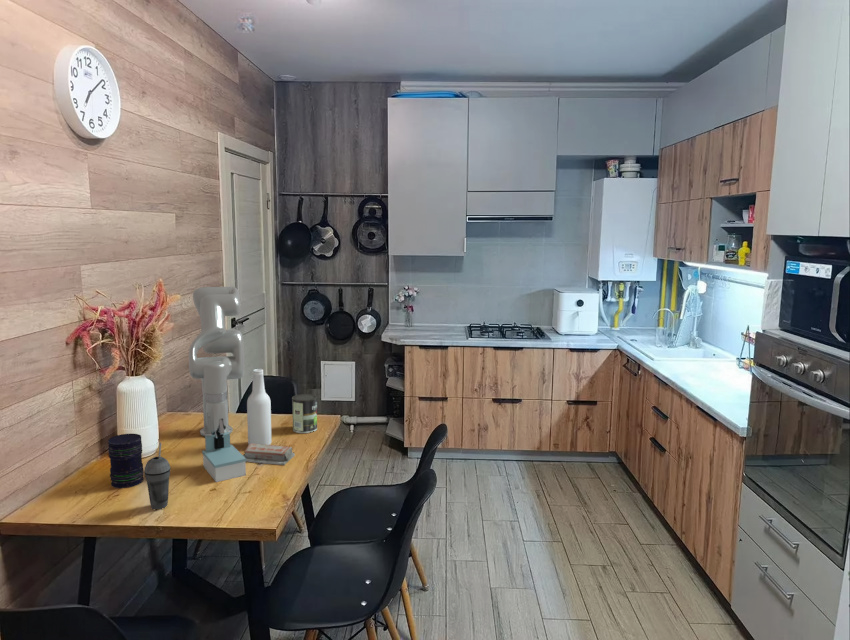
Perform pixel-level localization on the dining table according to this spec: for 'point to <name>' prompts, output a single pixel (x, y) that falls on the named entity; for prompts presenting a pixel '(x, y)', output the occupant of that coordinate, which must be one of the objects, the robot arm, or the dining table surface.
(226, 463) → the lid
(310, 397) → the coffee can
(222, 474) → the tub
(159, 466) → the beverage cup
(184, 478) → the dining table surface
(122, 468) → the storage jar
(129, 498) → the dining table surface
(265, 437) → the alcohol
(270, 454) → the packaged product
